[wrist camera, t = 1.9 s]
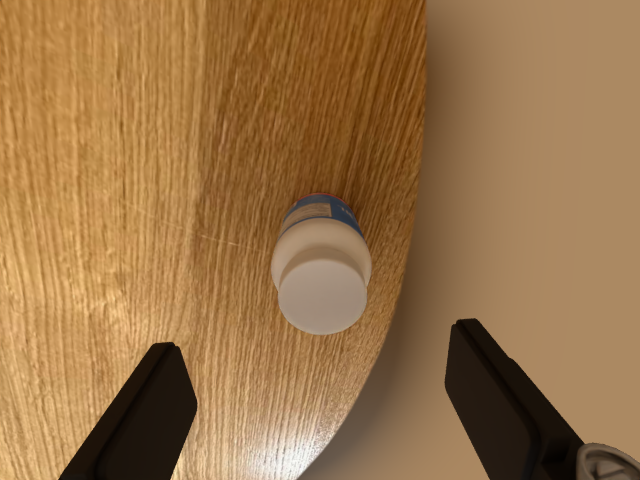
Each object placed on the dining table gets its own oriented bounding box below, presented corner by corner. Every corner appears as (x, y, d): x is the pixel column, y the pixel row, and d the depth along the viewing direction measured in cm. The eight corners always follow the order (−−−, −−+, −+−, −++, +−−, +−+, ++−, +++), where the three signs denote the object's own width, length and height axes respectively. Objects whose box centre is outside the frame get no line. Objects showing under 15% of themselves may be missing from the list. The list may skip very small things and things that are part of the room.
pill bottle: (363, 246, 23) (396, 333, 14) (298, 266, 23) (287, 362, 14) (344, 179, 21) (366, 229, 12) (272, 202, 21) (241, 267, 12)
